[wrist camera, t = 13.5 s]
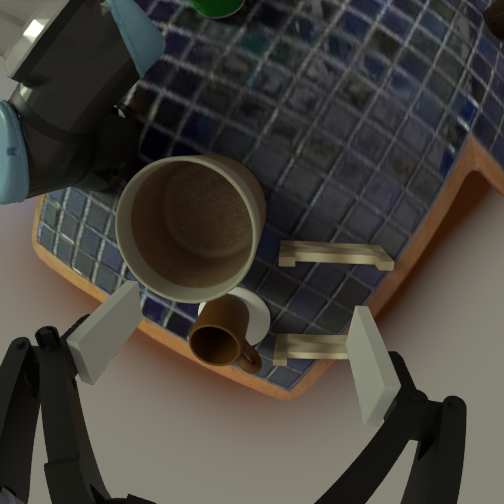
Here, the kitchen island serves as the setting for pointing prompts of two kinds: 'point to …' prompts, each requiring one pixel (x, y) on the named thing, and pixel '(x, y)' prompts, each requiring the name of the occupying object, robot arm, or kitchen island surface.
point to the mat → (252, 314)
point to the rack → (332, 253)
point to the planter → (191, 226)
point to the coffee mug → (495, 18)
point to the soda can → (217, 7)
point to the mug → (224, 335)
